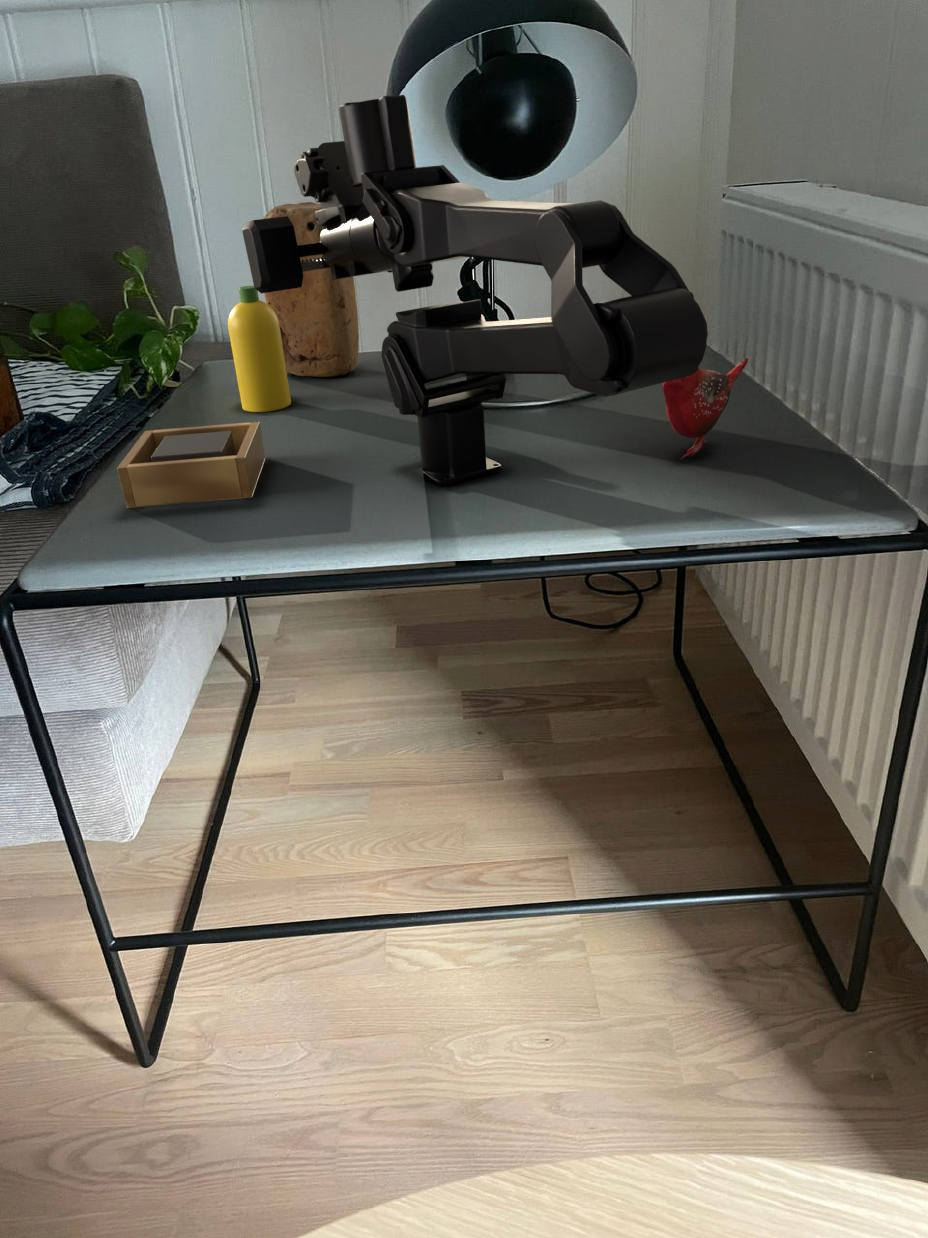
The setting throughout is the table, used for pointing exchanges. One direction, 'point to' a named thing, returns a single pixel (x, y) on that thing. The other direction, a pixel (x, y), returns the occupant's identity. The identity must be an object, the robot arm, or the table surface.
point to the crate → (192, 469)
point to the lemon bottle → (258, 354)
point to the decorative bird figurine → (698, 402)
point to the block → (315, 309)
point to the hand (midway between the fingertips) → (309, 253)
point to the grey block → (194, 446)
